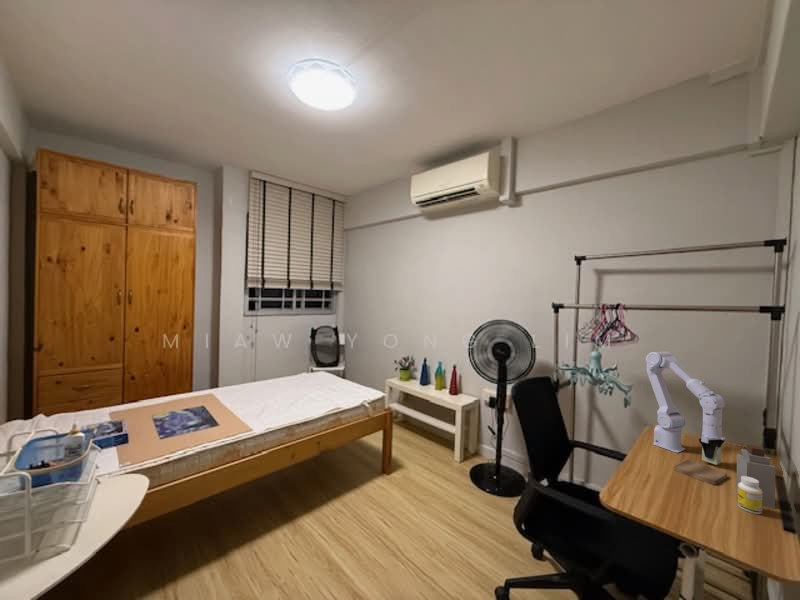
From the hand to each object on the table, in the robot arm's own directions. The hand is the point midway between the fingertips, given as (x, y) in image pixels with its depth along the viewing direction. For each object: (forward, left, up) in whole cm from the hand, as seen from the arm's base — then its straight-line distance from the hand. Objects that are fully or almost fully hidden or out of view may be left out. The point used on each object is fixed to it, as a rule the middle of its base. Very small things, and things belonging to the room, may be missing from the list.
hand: (711, 456), depth 134 cm
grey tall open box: (+17, -19, -3) cm, 26 cm away
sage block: (0, 0, -2) cm, 2 cm away
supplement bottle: (+18, -28, -3) cm, 34 cm away
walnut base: (+1, -14, -3) cm, 14 cm away
